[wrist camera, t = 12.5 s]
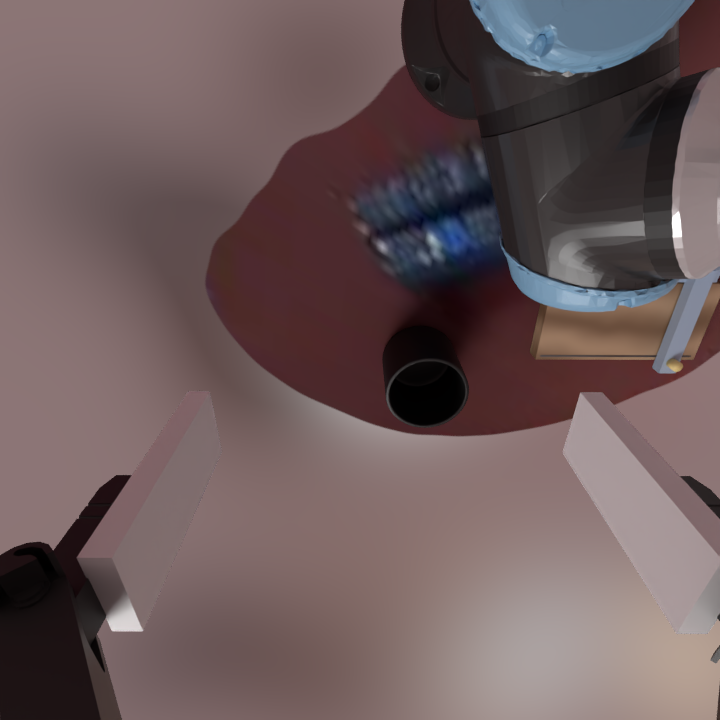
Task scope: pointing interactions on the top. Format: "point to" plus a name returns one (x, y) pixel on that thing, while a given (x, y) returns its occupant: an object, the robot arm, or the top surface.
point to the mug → (423, 377)
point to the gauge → (683, 322)
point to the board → (616, 330)
